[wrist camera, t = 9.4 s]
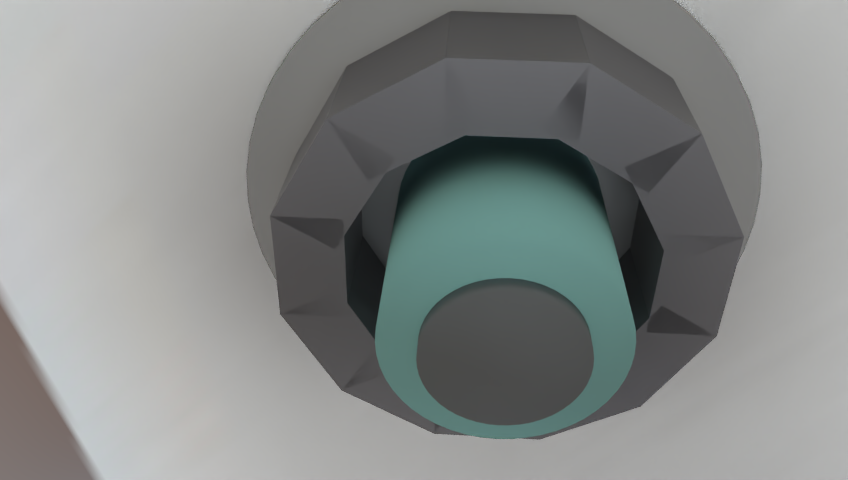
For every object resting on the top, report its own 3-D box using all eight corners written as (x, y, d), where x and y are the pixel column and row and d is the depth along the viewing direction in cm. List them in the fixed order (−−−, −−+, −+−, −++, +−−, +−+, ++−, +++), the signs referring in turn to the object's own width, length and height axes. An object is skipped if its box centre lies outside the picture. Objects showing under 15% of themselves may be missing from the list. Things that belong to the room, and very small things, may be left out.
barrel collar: (699, 398, 22) (726, 485, 20) (272, 376, 23) (247, 457, 20) (823, -45, 16) (888, 1, 13) (220, -63, 16) (172, -23, 14)
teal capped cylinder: (588, 294, 20) (618, 460, 16) (398, 285, 20) (374, 447, 16) (615, 119, 18) (661, 260, 13) (397, 111, 18) (369, 246, 13)
